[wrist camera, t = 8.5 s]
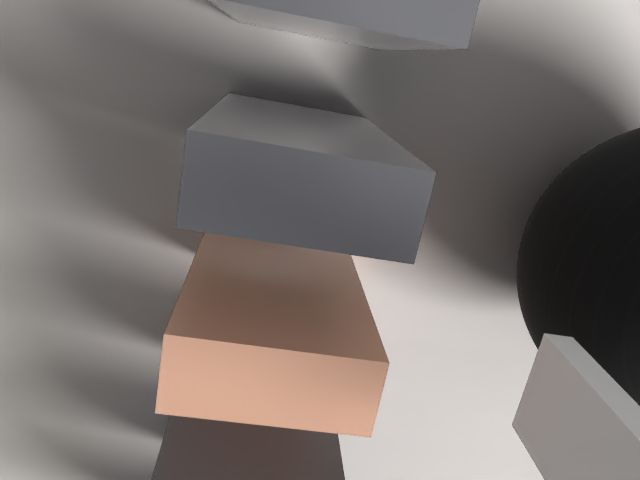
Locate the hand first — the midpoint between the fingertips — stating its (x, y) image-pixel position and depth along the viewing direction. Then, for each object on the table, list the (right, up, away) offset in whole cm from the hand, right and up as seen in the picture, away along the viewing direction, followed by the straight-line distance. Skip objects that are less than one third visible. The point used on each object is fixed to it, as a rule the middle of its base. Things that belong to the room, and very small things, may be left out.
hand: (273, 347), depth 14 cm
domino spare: (-1, +2, +9) cm, 9 cm away
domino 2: (0, +6, +7) cm, 10 cm away
